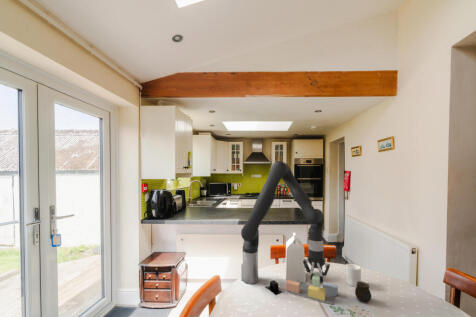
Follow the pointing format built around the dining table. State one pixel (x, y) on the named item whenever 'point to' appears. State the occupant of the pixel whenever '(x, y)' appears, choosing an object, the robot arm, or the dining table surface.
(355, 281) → the white cup
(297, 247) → the milk
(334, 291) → the blue block
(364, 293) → the mate gourd
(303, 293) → the mat
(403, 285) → the dining table surface
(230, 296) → the dining table surface
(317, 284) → the green block
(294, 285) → the terracotta block
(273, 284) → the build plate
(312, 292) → the mustard block
